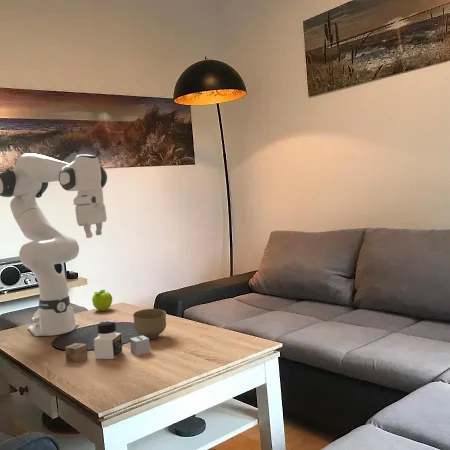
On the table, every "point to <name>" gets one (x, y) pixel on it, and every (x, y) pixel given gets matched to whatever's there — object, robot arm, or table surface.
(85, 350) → the walnut block
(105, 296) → the fruit
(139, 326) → the bowl
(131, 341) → the grey painted block
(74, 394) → the table surface
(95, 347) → the medicine bottle
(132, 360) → the table surface
